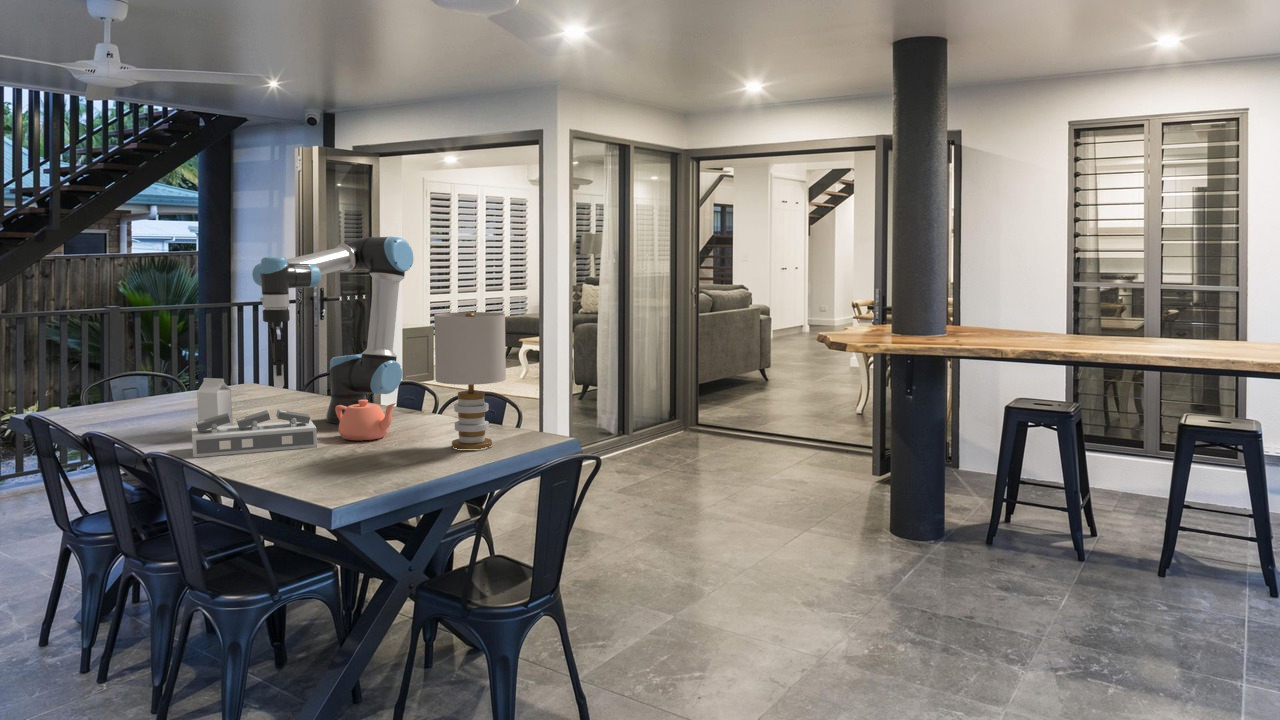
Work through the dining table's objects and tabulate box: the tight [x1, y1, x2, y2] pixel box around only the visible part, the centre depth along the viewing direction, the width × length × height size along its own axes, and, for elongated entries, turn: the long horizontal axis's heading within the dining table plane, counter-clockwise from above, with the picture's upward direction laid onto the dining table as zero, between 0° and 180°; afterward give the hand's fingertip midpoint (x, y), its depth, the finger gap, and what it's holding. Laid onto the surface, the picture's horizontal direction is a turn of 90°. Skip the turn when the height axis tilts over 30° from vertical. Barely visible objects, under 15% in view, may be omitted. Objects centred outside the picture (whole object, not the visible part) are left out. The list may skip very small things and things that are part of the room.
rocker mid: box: [236, 409, 271, 429], centre depth 280 cm, size 9×6×3 cm
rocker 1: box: [195, 413, 230, 432], centre depth 275 cm, size 9×6×3 cm
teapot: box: [335, 399, 397, 441], centre depth 295 cm, size 22×15×12 cm
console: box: [191, 419, 318, 458], centre depth 280 cm, size 34×15×7 cm, turn 116°
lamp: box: [433, 311, 507, 449], centre depth 281 cm, size 21×21×41 cm
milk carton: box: [196, 377, 234, 427], centre depth 295 cm, size 7×7×19 cm
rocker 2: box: [275, 409, 311, 424], centre depth 285 cm, size 9×6×3 cm
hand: (279, 386), depth 282 cm, fingers closed
